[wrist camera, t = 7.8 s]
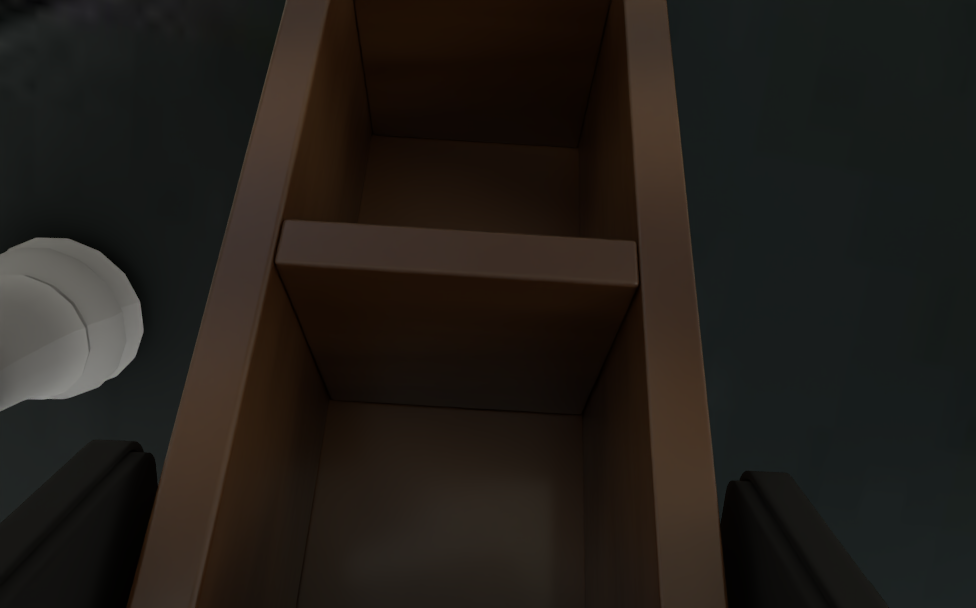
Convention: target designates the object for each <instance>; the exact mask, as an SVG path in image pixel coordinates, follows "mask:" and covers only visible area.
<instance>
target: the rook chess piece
mask: <svg viewBox="0 0 976 608" xmlns="http://www.w3.org/2000/svg"><path fill="white" fill-rule="evenodd" d="M143 332H144V329H143V321H142V312H141V304H140V300H139V299H138V297H137V295H136V293H135V291H134V289H133V288H132V286H131V284H130V282H129V280H128V278H127V277H126V275H125V273H124V272H122V271H121V270H120V269H119V268H118V267H117V266H116V265H115V264H113V263H112V262H111V261H110V260H109V259H108V258H107V257H106V256H104V255H103V254H102V253H101V252H100V251H98V250H95V249H93V248H90V247H88V246H86V245H83V244H81V243H78V242H76V241H73V240H71V239H68V238H34V239H32V240H29V241H27V242H24V243H22V244H19V245H17V246H14V247H12V248H9V249H8V250H7V251H6V252H5V253H2V254H0V412H1V411H2V410H4V409H6V408H8V407H11V406H13V405H15V404H17V403H19V402H21V401H24V400H26V399H42V400H44V399H66V398H70V397H73V396H76V395H79V394H82V393H84V392H87V391H90V390H92V389H95V388H98V387H100V386H101V385H102V384H103V383H104V382H105V381H106V380H108V379H111V378H114V377H116V376H117V375H118V374H119V373H120V372H121V371H122V370H123V369H124V368H125V367H126V366H127V365H128V364H129V363H130V362H131V361H132V360H133V359H134V358H135V357H136V353H137V350H138V347H139V344H140V341H141V338H142V335H143Z"/></svg>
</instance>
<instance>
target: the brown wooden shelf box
mask: <svg viewBox="0 0 976 608" xmlns="http://www.w3.org/2000/svg"><path fill="white" fill-rule="evenodd" d="M126 608H728V598H727V588H726V578H725V568H724V559H723V549H722V539H721V529H720V519H719V510H718V500H717V490H716V480H715V470H714V461H713V451H712V441H711V431H710V421H709V412H708V402H707V392H706V382H705V373H704V363H703V353H702V343H701V333H700V324H699V314H698V304H697V294H696V284H695V275H694V265H693V255H692V245H691V235H690V226H689V216H688V206H687V196H686V186H685V177H684V167H683V157H682V147H681V137H680V128H679V118H678V108H677V98H676V88H675V79H674V69H673V59H672V49H671V39H670V30H669V20H668V10H667V0H286V3H285V7H284V11H283V14H282V18H281V22H280V26H279V30H278V33H277V37H276V41H275V45H274V49H273V52H272V56H271V60H270V64H269V68H268V71H267V75H266V79H265V83H264V87H263V90H262V94H261V98H260V102H259V105H258V109H257V113H256V117H255V121H254V124H253V128H252V132H251V136H250V140H249V143H248V147H247V151H246V155H245V159H244V162H243V166H242V170H241V174H240V178H239V181H238V185H237V189H236V193H235V197H234V200H233V204H232V208H231V212H230V216H229V219H228V223H227V227H226V231H225V234H224V238H223V242H222V246H221V250H220V253H219V257H218V261H217V265H216V269H215V272H214V276H213V280H212V284H211V288H210V291H209V295H208V299H207V303H206V307H205V310H204V314H203V318H202V322H201V326H200V329H199V333H198V337H197V341H196V345H195V348H194V352H193V356H192V360H191V363H190V367H189V371H188V375H187V379H186V382H185V386H184V390H183V394H182V398H181V401H180V405H179V409H178V413H177V417H176V420H175V424H174V428H173V432H172V436H171V439H170V443H169V447H168V451H167V455H166V458H165V462H164V466H163V470H162V473H161V477H160V481H159V485H158V489H157V492H156V496H155V500H154V504H153V508H152V511H151V515H150V519H149V523H148V527H147V530H146V534H145V538H144V542H143V546H142V549H141V553H140V557H139V561H138V565H137V568H136V572H135V576H134V580H133V584H132V587H131V591H130V595H129V599H128V602H127V606H126Z"/></svg>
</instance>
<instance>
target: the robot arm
mask: <svg viewBox="0 0 976 608" xmlns="http://www.w3.org/2000/svg"><path fill="white" fill-rule="evenodd" d="M157 489H158V484H157V473H156V464H155V459H154V457H153V455H152V454H151V453H146V452H143V449H142V447H141V445H140V444H139V443H138V442H135V441H115V440H92V441H91V442H89V443H88V444H87V445H86V446H85V447H83V448H82V449H81V450H80V451H79V452H78V453H77V454H76V455H75V456H74V457H73V458H71V459H70V460H69V461H68V462H67V463H66V464H65V465H64V466H63V467H62V468H61V469H59V470H58V471H57V472H56V473H55V474H54V475H53V476H52V477H51V478H50V479H48V480H47V481H46V482H45V483H44V484H43V485H42V486H41V487H40V488H39V489H38V490H36V491H35V492H34V493H33V494H32V495H31V496H30V497H29V498H28V499H27V500H26V501H24V502H23V503H22V504H21V505H20V506H19V507H18V508H17V509H16V510H15V511H13V512H12V513H11V514H10V515H9V516H8V517H7V518H6V519H5V520H4V521H3V522H1V523H0V608H126V606H127V602H128V599H129V595H130V591H131V587H132V584H133V580H134V576H135V572H136V568H137V565H138V561H139V557H140V553H141V549H142V546H143V542H144V538H145V534H146V530H147V527H148V523H149V519H150V515H151V511H152V508H153V504H154V500H155V496H156V492H157ZM720 529H721V539H722V549H723V559H724V568H725V578H726V588H727V598H728V608H889V607H888V605H887V604H886V603H885V601H884V600H883V599H882V597H881V596H880V595H879V593H878V592H877V591H876V589H875V588H874V587H873V585H872V584H871V583H870V582H869V581H868V580H867V578H866V577H865V576H864V574H863V573H862V572H861V570H860V569H859V567H858V566H857V565H856V563H855V562H854V561H853V559H852V558H851V557H850V555H849V554H848V553H847V551H846V550H845V548H844V547H843V546H842V544H841V543H840V542H839V540H838V539H837V538H836V536H835V535H834V534H833V532H832V531H831V530H830V528H829V527H828V525H827V524H826V523H825V521H824V520H823V519H822V517H821V516H820V515H819V513H818V512H817V511H816V509H815V508H814V507H813V505H812V504H811V502H810V501H809V500H808V498H807V497H806V496H805V494H804V493H803V492H802V490H801V489H800V488H799V486H798V485H797V484H796V482H795V481H794V479H793V478H792V477H791V476H790V475H789V474H788V473H779V472H759V471H745V472H744V473H743V474H742V476H741V478H740V481H730V482H729V484H728V486H727V490H726V495H725V501H724V507H723V513H722V519H721V525H720Z"/></svg>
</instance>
